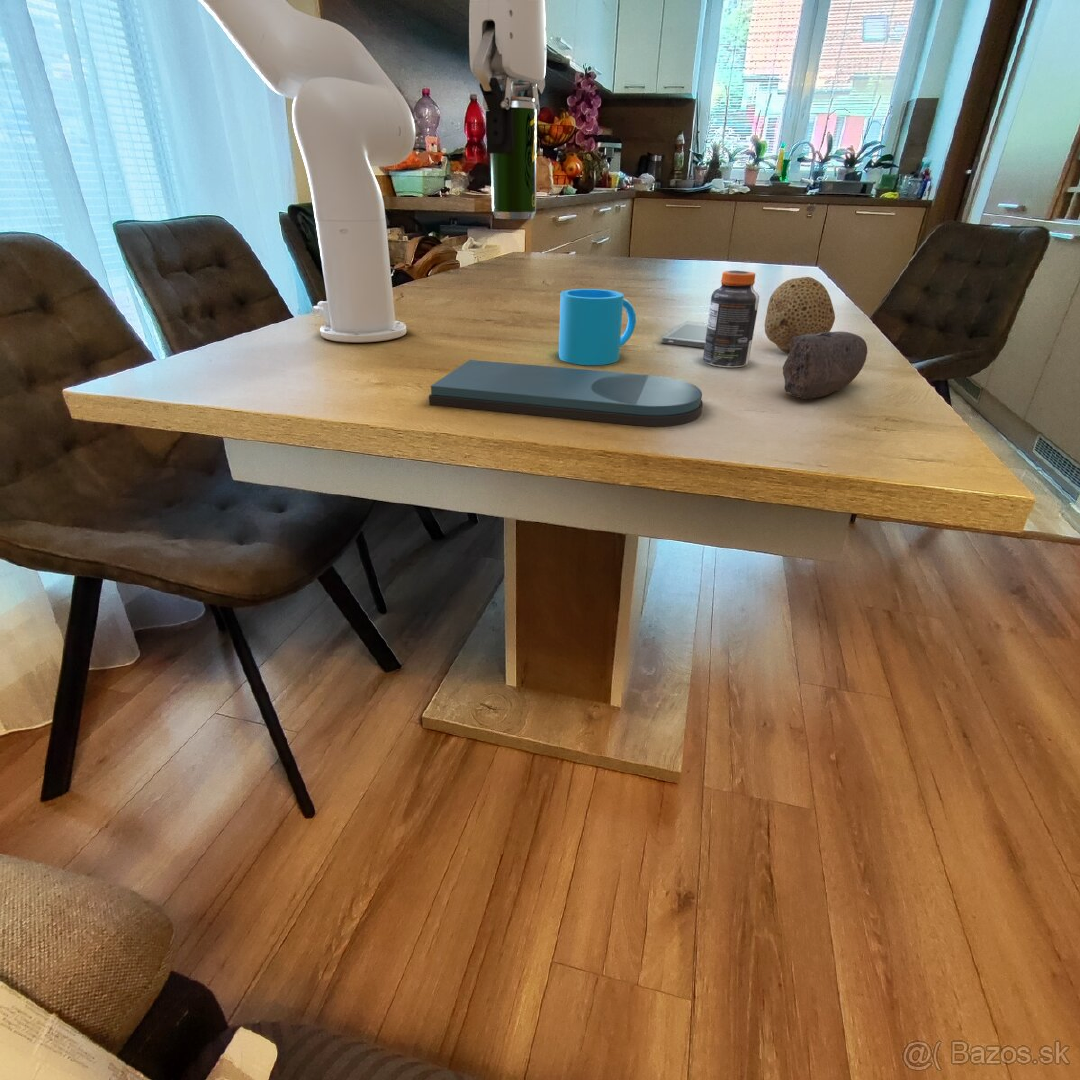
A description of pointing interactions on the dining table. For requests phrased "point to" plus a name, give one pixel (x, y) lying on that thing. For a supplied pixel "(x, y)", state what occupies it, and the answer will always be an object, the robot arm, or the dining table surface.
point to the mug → (593, 326)
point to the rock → (823, 363)
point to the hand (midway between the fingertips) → (513, 152)
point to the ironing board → (569, 393)
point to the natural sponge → (798, 311)
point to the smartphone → (687, 334)
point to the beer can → (516, 166)
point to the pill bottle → (731, 320)
